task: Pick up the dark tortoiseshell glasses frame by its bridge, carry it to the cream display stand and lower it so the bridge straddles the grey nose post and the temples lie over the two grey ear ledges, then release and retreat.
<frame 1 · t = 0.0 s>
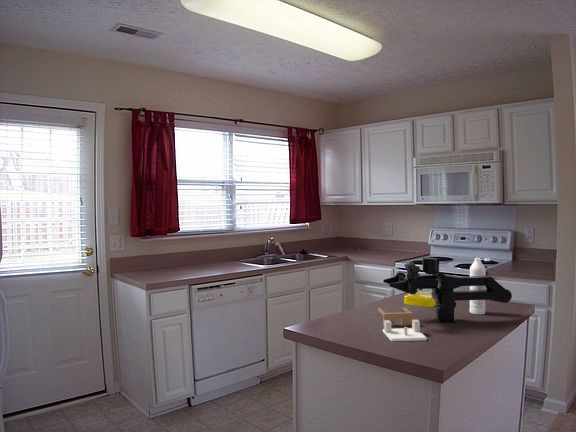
hand: (386, 282, 183), 17 cm above the countertop, tool horizontal, fingers open, 9 cm apart
water bottle: (479, 313, 196), on the countertop
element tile: (422, 303, 218), on the countertop
display stand: (403, 335, 165), on the countertop
glasses frame: (398, 325, 179), on the countertop
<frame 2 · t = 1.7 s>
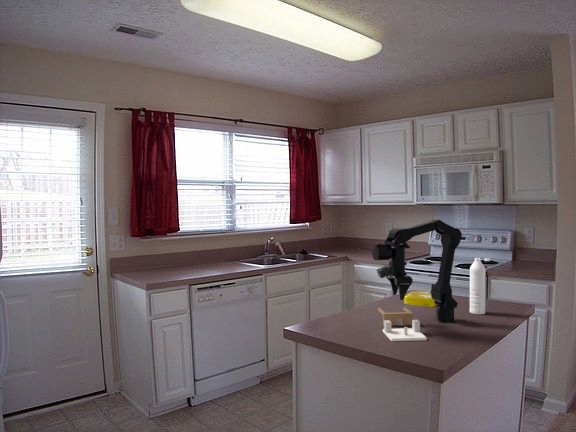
hand: (398, 297, 178), 11 cm above the countertop, tool pointing down, fingers open, 9 cm apart
nothing on the countertop moved.
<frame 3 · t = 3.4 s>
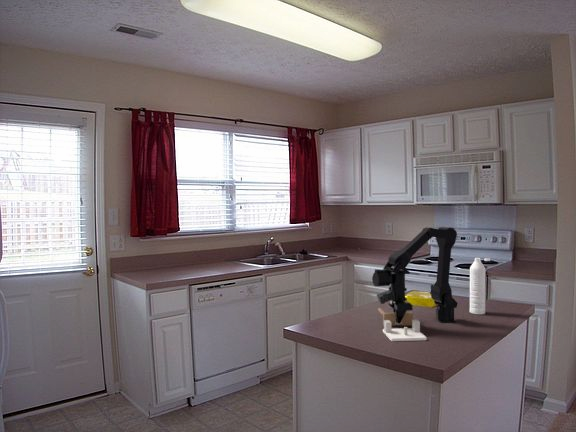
hand: (398, 322, 179), 1 cm above the countertop, tool pointing down, fingers closed on glasses frame
glasses frame: (398, 325, 179), on the countertop, touching gripper
everything else where it was.
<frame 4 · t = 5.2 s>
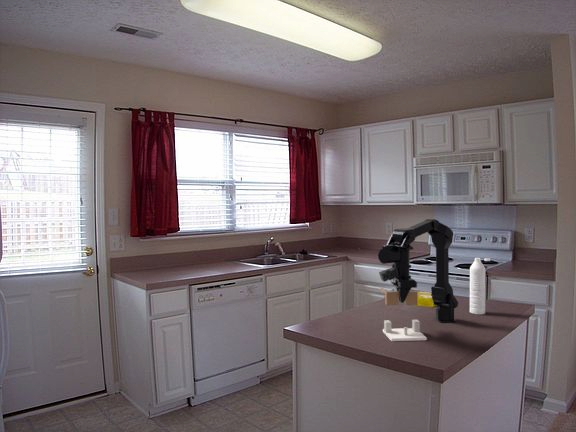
hand: (401, 302, 168), 12 cm above the countertop, tool pointing down, fingers closed on glasses frame
glasses frame: (401, 304, 168), point 11 cm above the countertop, touching gripper
everything else where it was.
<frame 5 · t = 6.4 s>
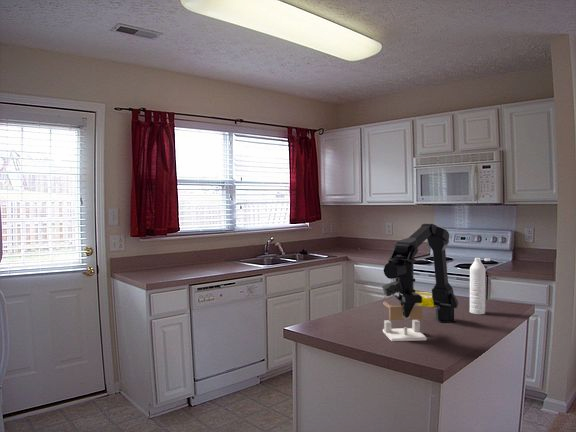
hand: (405, 316, 162), 8 cm above the countertop, tool pointing down, fingers closed on glasses frame
glasses frame: (405, 319, 162), point 7 cm above the countertop, touching gripper
everything else where it was.
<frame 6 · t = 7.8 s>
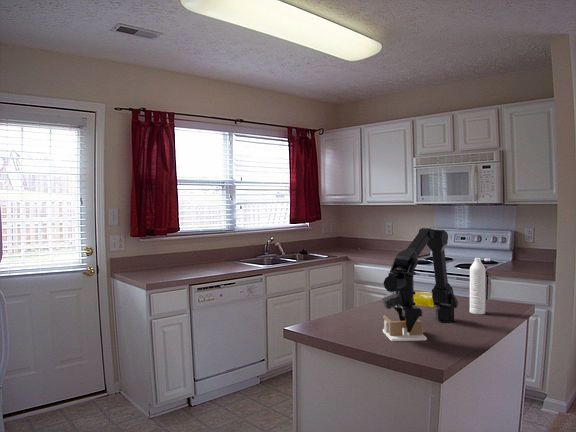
hand: (405, 329, 163), 3 cm above the countertop, tool pointing down, fingers open, 7 cm apart
glasses frame: (405, 334, 163), point 1 cm above the countertop, touching display stand
everything else where it was.
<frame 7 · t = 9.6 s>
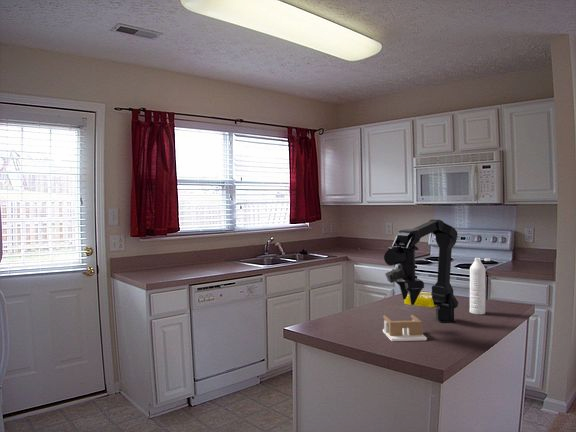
hand: (408, 301, 171), 11 cm above the countertop, tool pointing down, fingers open, 9 cm apart
nothing on the countertop moved.
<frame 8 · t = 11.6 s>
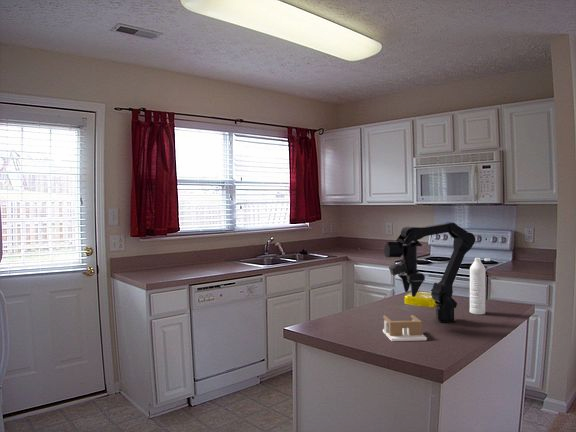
hand: (409, 294, 182), 12 cm above the countertop, tool pointing down, fingers open, 9 cm apart
nothing on the countertop moved.
at the end: glasses frame 0.1 cm from the target spot on the display stand, point 1.0 cm above the display stand's base; glasses frame tilted 0°; the gripper is holding nothing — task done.
